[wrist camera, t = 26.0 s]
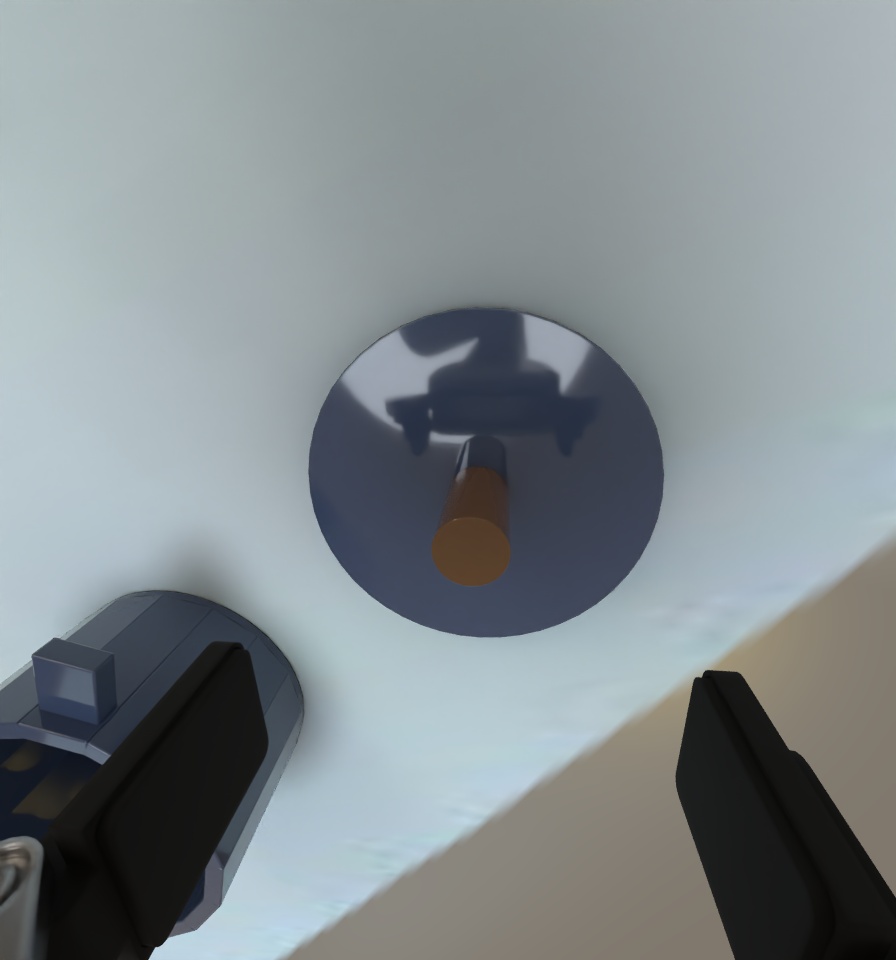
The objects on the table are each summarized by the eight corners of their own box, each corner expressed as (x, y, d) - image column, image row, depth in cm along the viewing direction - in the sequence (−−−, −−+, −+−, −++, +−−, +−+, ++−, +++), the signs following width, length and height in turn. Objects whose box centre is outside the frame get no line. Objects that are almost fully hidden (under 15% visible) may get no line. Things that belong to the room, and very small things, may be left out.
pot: (91, 765, 31) (-48, 923, 23) (68, 518, 24) (-143, 627, 16) (287, 820, 31) (213, 997, 23) (323, 587, 24) (233, 730, 16)
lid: (301, 578, 24) (239, 664, 18) (342, 265, 18) (270, 251, 13) (586, 654, 23) (611, 765, 18) (717, 359, 18) (812, 388, 12)
